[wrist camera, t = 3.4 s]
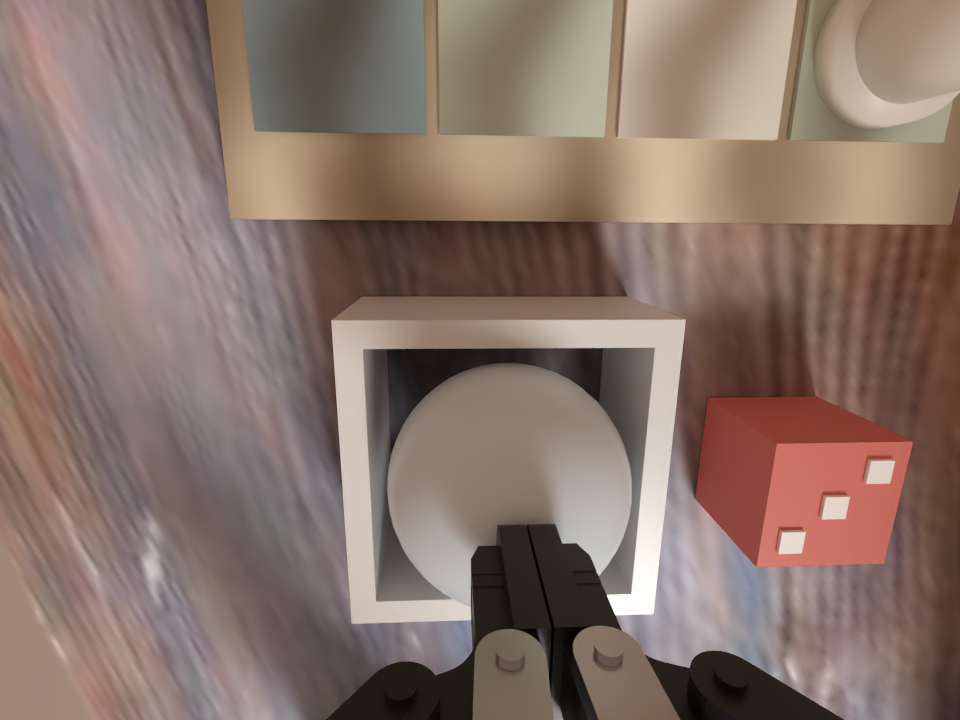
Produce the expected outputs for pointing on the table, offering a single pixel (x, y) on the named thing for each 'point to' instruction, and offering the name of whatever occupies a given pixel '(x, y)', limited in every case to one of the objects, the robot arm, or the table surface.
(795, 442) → the die
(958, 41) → the pawn
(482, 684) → the robot arm
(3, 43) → the table surface
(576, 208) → the board
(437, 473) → the dome
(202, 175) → the table surface
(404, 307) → the button housing
